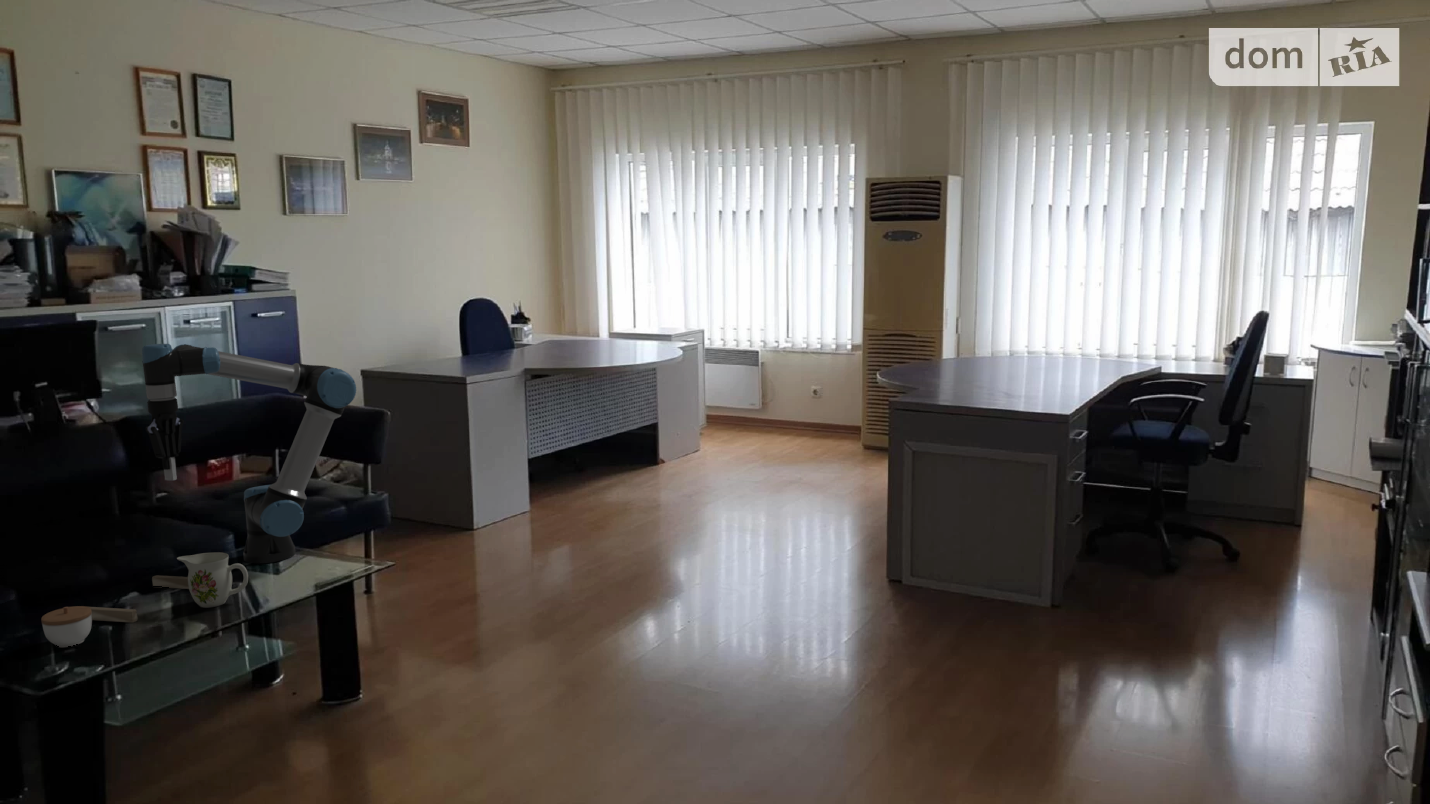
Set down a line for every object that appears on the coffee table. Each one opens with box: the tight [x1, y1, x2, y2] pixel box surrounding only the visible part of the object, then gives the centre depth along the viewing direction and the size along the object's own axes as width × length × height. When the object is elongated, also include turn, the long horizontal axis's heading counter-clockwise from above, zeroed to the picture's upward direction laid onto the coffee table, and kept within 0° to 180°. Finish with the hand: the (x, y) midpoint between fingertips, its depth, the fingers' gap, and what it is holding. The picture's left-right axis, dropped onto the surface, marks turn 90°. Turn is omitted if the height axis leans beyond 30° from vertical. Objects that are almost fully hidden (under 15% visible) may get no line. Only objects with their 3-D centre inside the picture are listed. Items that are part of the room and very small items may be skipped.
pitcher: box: [176, 551, 249, 609], centre depth 281 cm, size 11×18×14 cm, turn 98°
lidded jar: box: [40, 605, 93, 648], centre depth 256 cm, size 11×11×9 cm
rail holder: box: [88, 575, 189, 623], centre depth 283 cm, size 27×15×3 cm, turn 169°
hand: (171, 479), depth 291 cm, fingers closed
